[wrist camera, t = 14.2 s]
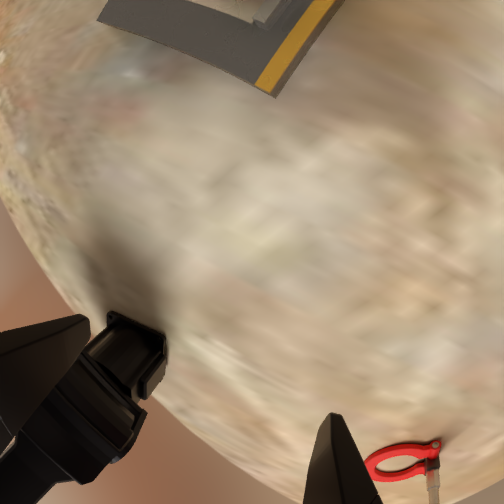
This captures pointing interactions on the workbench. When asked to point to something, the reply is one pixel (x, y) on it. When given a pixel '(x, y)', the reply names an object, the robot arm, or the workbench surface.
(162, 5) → the dock plate
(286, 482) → the workbench surface
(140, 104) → the workbench surface
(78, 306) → the workbench surface
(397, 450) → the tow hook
